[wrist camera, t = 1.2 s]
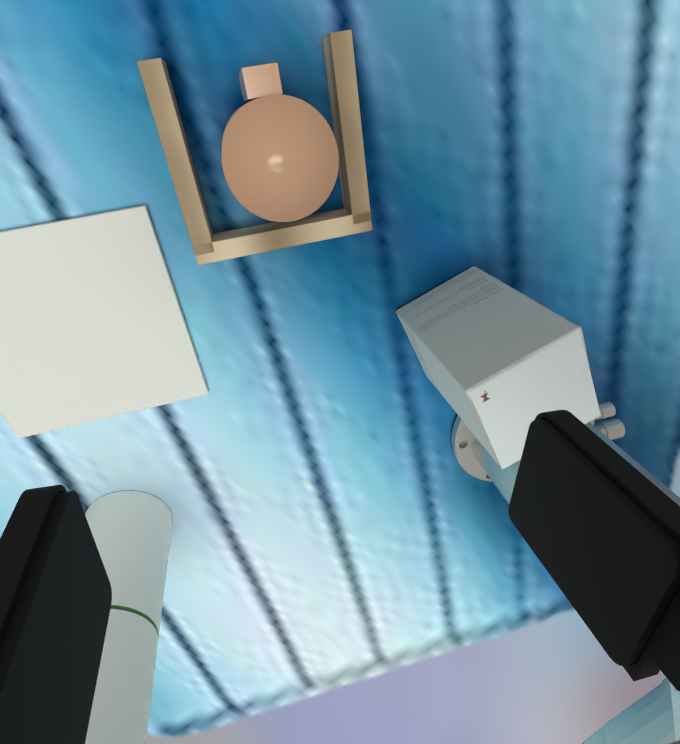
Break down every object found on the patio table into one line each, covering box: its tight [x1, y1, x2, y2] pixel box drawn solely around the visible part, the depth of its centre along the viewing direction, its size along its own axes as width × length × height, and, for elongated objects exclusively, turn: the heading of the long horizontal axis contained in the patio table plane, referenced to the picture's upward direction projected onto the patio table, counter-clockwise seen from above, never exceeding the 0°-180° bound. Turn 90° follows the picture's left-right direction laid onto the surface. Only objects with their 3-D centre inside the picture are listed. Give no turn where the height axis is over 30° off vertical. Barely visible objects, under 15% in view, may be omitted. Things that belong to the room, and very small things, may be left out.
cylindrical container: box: [85, 490, 173, 744], centre depth 30 cm, size 7×7×25 cm
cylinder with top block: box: [222, 62, 339, 222], centre depth 25 cm, size 5×6×10 cm
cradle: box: [137, 30, 372, 265], centre depth 29 cm, size 11×11×2 cm
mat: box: [0, 205, 209, 439], centre depth 32 cm, size 14×14×1 cm
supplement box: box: [396, 266, 601, 469], centre depth 33 cm, size 7×7×13 cm
